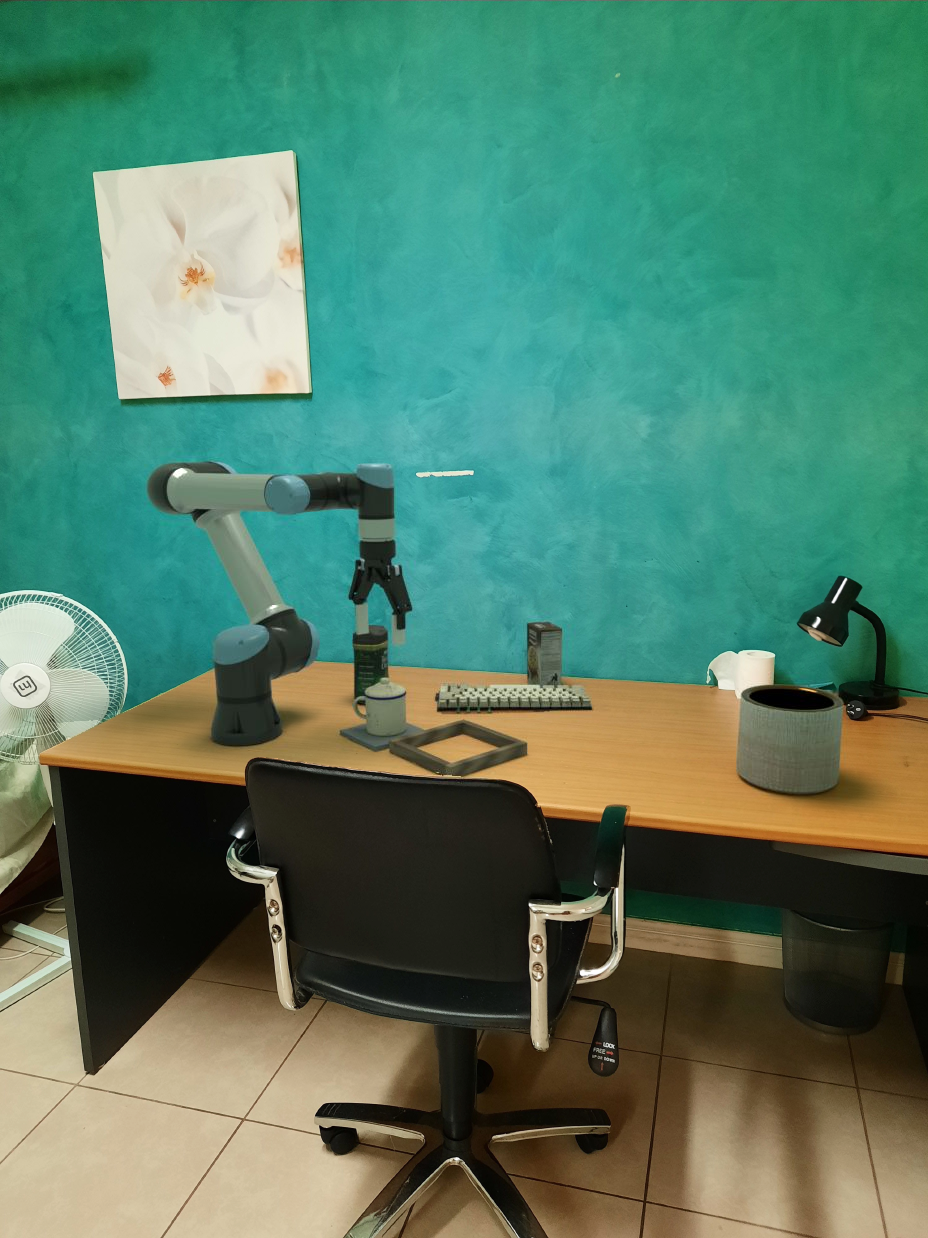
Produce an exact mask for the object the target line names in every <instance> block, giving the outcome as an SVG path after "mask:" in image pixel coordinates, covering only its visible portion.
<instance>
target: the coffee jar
mask: <svg viewBox="0 0 928 1238" xmlns="http://www.w3.org/2000/svg"><path fill="white" fill-rule="evenodd" d="M368 627H369V633H366V634H360V635H357V634H356V631H355V632H353V633H352V643H351V644H352V649H353V650H352V651H353V699H354V700H355V699H356V698H358V697H360V696H365V695H364V693H365V690H366V689H367V688H369V687H371V686H374V685H375V684H377V683H380V679H381V678H389V679H390V676H389V657H388V656H389V655H388V654H389V653H388V651H389V632H388V629H387V628H386V627H385V626H384V625H377V624H375V625H374V624H368ZM354 700H353V701H354ZM357 703H360V704H362V705H366V700H359V701H358V702H357Z"/></svg>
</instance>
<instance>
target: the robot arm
mask: <svg viewBox="0 0 928 1238" xmlns="http://www.w3.org/2000/svg"><path fill="white" fill-rule="evenodd" d="M394 477H395V476H394V467H393V466H392V465H391V464H390V463H359V464H358V465H357V466H356V472H353V473H348V472H345V473H344V472H330V471H328V472H325V471H323V472H318V473H310V474H265V473H264V474H263V473H262V474H261V473H260V474H259V473H258V474H256V473H255V474H253V473H237V471H236V470H235V469H234V468H233V467H232V466H230V465H228V464H227V463H224V462H221V461H220V462H219V461H213V460H205V461H201V462H200V461H199V462H197V461H196V462H194V461H193V462H169V463H165V464H162V465H160V466H158V467H157V468H155V469H154V470H153V471H152V472H151V474H150V475H149V477H148V479H147V482H146V493H147V497H148V499H149V501H150V502H151V504H152V505H153V507H155V508H156V509H157V510H158V511H160V512H162V513H164V514H167V515H173V516H174V515H175V516H176V515H177V516H179V515H181V516H182V515H190V517H191V519H192V520H193V522H194V525H195V526H196V527H197V528H199V529H201V530H204V531H206V535H208V538H209V540H210V541H211V543H212V546H213V548H214V550H215V553H216V554H217V556H218V558H219V560H220V563H221V564H222V566H223V568H224V570H225V572H226V574H227V576H228V578H229V580H230V582H231V584H232V586H233V588H234V591H235V593H236V594H237V597H238V599H239V600H240V602H241V605H242V606H243V609H244V610H245V612H246V615H247V616H248V619H249V624H244V625H243V624H242V625H241V626H233V627H229V628H227V629H225V630H222V631H221V632H219V633H218V634H217V635H216V636H215V637H214V639H213V643H212V645H213V647H212V648H213V651H212V659H213V667H214V678H215V679H214V680H215V688H216V691H215V692H216V706H215V710H214V715H213V717H212V722H211V726H210V734H211V735H210V736H211V740H212V741H213V742H214V743H218V744H220V745H224V746H250V745H257V744H261V743H266V742H269V741H272V740H274V739H276V738H278V737H280V736H281V734H282V733H283V722H282V718H281V717H280V713H279V712H278V708H277V706H276V704H275V702H274V699H273V692H272V689H273V688H272V681H273V680H276V679H279V678H281V677H285V676H287V675H291V674H293V673H295V674H297V673H299V672H301V671H302V670H304V669H306V668H308V667H310V666H311V665H312V664H313V663H314V662H315V661H316V659H317V657H318V655H319V653H318V652H319V650H320V637H319V633H318V631H317V629H316V627H315V626H314V624H313V623H312V622H310V621H308V620H307V619H305V618H300V617H299V615H298V613H297V611H296V609H295V608H294V606H293V607H292V606H289V605H286V604H285V602H284V600H283V599H282V596H281V595H280V592H279V590H278V587H277V586H276V584H275V582H274V581H273V578H272V576H271V574H270V572H269V570H268V568H267V567H266V564H265V563H264V560H263V558H262V556H261V554H260V552H259V550H258V548H257V547H256V545H255V542H254V540H253V539H252V536H251V535H250V532H249V531H248V528H247V526H246V524H245V522H244V520H243V518H242V516H241V513H242V512H267V513H269V512H270V513H271V512H272V513H275V514H278V515H285V516H289V515H290V516H291V515H293V516H294V515H297V514H302V513H310V512H323V511H331V510H357V516H358V520H357V521H358V524H357V525H358V537H359V538H360V539H361V540H360V541H359V543H358V544H359V545H358V546H359V547H358V549H359V550H358V551H359V552H358V553H359V557H360V559H355V563H354V564H355V565H354V566H355V567H354V573H353V576H352V580H351V585H350V588H349V592H348V595H347V596H348V600H349V601H352V603H353V604H354V616H355V632H356V634H357V635H360V634H366V633H369V627H368V625H369V604H368V597H369V595H370V593H371V591H372V589H373V587H374V585H378V586H379V587H380V588H381V589H383V592H384V594H385V596H386V598H387V600H388V603H389V605H390V606H391V609H392V612H391V641H392V642H391V643H392V646H401V645H405V644H406V621H407V620H406V614H407V613H409V612H412V611H413V605H412V602H411V600H410V596H409V592H408V588H407V586H406V582H405V578H404V575H403V566H402V565H401V564H395V565H393V561H392V560H393V559H394V558H395V557H396V555H397V549H396V548H397V547H396V545H397V544H396V541H395V539H393V538H395V536H396V527H395V526H396V524H395V523H396V521H395V516H396V515H395V485H396V484H395V478H394Z"/></svg>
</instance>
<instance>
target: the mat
mask: <svg viewBox="0 0 928 1238" xmlns="http://www.w3.org/2000/svg"><path fill="white" fill-rule="evenodd" d="M424 730H425V729H424V728H421V727H418V726H416V725H413V724H412V723H409V722H406V730H405V731H404V732H403V733H401V734H398V735H393V736H376V735H372V734H370V733H368V732H367V725H366V723H362V724H359V725H355V726H352V727H348V728H344V729H340V730H339V735H340V736H342V737H344V738H345V739H348V740H350V741H353V742H355V743H356V744H359V745H361V746H363V747H365V748H368V749H369V750H371V751H374V752H379V751H382V750H386V749H389V740H392V739H395V738H399V737H402V736H406V735H410V734H413V733H417V732H420V731H424Z"/></svg>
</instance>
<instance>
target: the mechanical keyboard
mask: <svg viewBox="0 0 928 1238" xmlns="http://www.w3.org/2000/svg"><path fill="white" fill-rule="evenodd" d="M434 701H435V702H436V703H437V706H436V713H441V714H442V715H481V714H483V715H488V714H489V715H491V714H492V715H493V714H495V715H496V714H498V715H499V714H503V713H504V714H516V713H517V714H520V713H521V714H523V713H525V714H528V713H546V712H548V713H550V712H559V711H560V712H561V711H563V712H565V711H567V712H568V711H570V712H572V711H573V712H574V711H579V712H580V711H586V712H587V711H593V710H594V709H593V707H592V701H591V699H590V696H589V694H587V691H586V689H585V687H584V685H581V684H579V685H577V684H575V685H574V684H573V685H571V687H570V686H569V685H568V684H567V685H565V684H563V685H562V684H561V685H558V686H557V688H556V689H555V687H554V685H543V686H542V688H540V685H531V684H489V686H487V685H486V684H482V685H480V684H475V685H474V687H473V686H472V685H471V684H468V683H467V682H460V684H459V683H457V682H451V683H450V684H449V682H442V683H441V685H440V688H439V691H438V692H436V693H435V696H434Z"/></svg>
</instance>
